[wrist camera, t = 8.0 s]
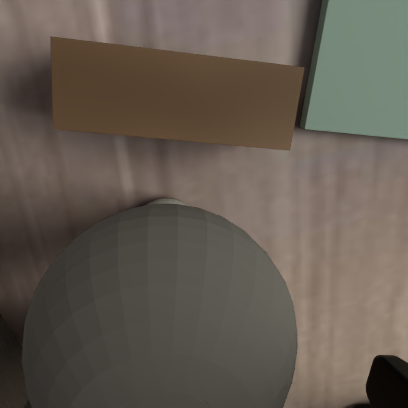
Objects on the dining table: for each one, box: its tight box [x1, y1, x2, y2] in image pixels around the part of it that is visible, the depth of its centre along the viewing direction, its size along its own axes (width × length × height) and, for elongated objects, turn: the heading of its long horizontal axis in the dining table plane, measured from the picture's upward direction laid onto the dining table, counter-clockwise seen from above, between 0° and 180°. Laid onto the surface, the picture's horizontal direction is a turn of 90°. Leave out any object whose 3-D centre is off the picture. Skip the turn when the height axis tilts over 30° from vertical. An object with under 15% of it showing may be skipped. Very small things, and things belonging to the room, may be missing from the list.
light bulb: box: [22, 198, 297, 408], centre depth 10 cm, size 6×6×10 cm
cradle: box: [50, 36, 305, 150], centre depth 13 cm, size 13×7×4 cm, turn 174°
